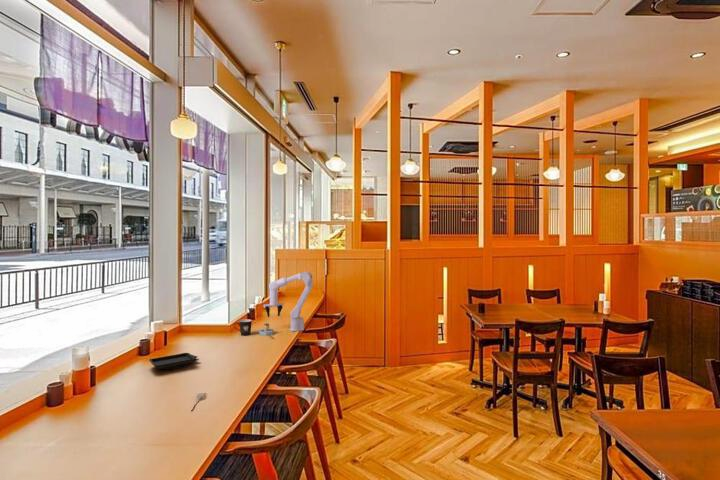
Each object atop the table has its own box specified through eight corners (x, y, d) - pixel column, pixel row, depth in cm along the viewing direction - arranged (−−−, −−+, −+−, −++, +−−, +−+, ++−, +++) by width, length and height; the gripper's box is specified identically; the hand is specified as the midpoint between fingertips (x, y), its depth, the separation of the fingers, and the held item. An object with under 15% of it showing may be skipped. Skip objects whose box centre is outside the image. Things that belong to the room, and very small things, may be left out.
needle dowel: (268, 333, 299) (268, 323, 299) (269, 334, 296) (269, 324, 296) (263, 333, 297) (263, 323, 297) (265, 334, 295) (265, 324, 294)
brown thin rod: (268, 335, 292) (268, 334, 292) (269, 335, 292) (269, 334, 292) (272, 339, 283) (272, 337, 283) (274, 338, 283) (274, 337, 283)
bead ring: (271, 331, 304) (271, 328, 304) (275, 334, 295) (275, 331, 295) (257, 333, 299) (257, 329, 299) (261, 336, 290) (261, 332, 290)
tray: (171, 356, 243) (171, 348, 243) (209, 358, 241) (209, 349, 240) (137, 374, 213) (137, 364, 213) (180, 377, 211) (180, 366, 211)
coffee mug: (253, 333, 298) (253, 319, 297) (249, 336, 289) (249, 322, 289) (237, 332, 299) (237, 319, 299) (233, 336, 290) (233, 321, 290)
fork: (184, 419, 170) (184, 413, 169) (201, 393, 190) (201, 387, 190) (191, 419, 170) (191, 413, 170) (207, 393, 191) (207, 387, 190)
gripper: (281, 296, 315) (281, 314, 315) (262, 297, 308) (262, 316, 308) (284, 297, 309) (284, 316, 309) (265, 299, 302) (265, 318, 302)
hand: (273, 316), depth 308 cm, fingers open, 7 cm apart
